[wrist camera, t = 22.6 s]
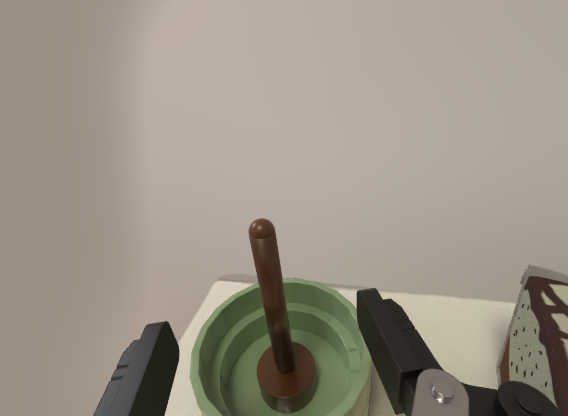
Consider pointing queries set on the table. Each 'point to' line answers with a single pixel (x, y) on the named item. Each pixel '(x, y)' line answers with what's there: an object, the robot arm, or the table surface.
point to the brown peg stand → (279, 332)
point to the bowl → (255, 340)
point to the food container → (539, 336)
